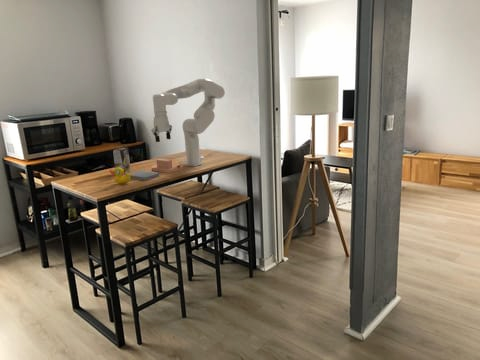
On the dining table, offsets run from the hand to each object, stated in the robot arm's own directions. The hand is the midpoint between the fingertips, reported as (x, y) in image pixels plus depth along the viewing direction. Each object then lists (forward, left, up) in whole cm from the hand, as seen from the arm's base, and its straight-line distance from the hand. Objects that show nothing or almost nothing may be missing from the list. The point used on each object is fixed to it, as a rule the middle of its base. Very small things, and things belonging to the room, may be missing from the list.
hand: (163, 140), depth 256 cm
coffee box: (+18, -21, -20) cm, 34 cm away
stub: (0, -1, -20) cm, 20 cm away
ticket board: (+19, -1, -20) cm, 28 cm away
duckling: (+36, -1, -20) cm, 41 cm away
